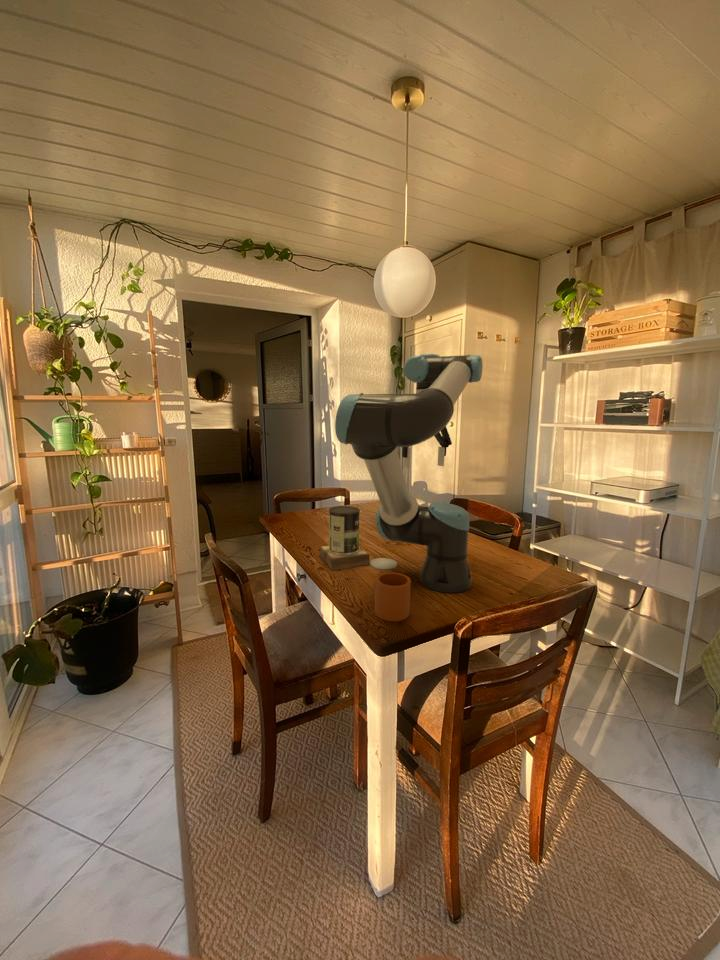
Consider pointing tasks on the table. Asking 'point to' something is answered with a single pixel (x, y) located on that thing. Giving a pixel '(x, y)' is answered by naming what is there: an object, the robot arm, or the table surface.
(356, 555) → the block
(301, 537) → the table surface
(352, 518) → the coffee can
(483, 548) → the table surface
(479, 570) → the table surface
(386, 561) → the felt coaster
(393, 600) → the mug
